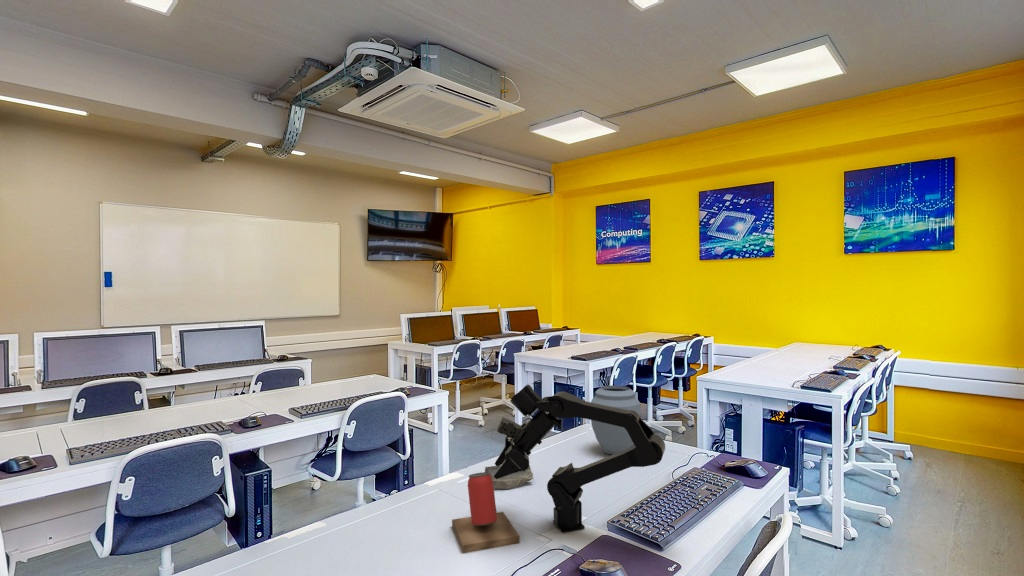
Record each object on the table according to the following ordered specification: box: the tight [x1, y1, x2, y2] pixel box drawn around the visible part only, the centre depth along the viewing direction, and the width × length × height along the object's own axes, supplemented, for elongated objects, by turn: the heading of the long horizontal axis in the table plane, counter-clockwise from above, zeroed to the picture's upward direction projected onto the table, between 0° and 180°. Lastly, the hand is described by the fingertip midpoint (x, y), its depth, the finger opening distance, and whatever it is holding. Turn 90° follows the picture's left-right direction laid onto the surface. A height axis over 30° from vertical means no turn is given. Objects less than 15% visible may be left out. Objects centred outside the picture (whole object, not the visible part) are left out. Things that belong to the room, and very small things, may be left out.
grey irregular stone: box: [484, 464, 534, 490], centre depth 162 cm, size 15×16×4 cm
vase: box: [590, 385, 643, 455], centre depth 188 cm, size 20×20×24 cm
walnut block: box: [451, 511, 521, 554], centre depth 126 cm, size 14×14×2 cm
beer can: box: [467, 471, 498, 526], centre depth 128 cm, size 7×7×12 cm
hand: (495, 471), depth 133 cm, fingers open, 9 cm apart
